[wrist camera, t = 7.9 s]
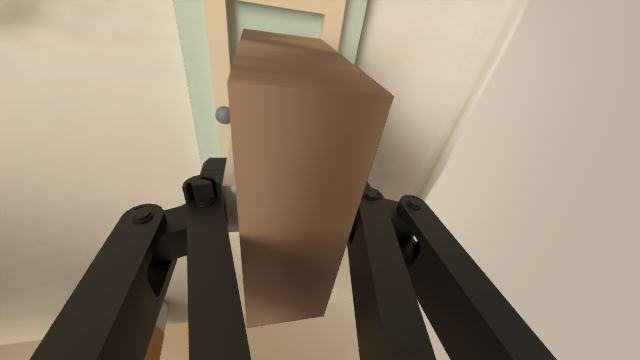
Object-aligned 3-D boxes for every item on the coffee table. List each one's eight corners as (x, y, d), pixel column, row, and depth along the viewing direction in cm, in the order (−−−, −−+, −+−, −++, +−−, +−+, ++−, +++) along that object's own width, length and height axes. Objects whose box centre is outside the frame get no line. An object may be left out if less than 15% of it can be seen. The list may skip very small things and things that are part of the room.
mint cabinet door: (213, 210, 26) (209, 230, 24) (156, -137, 12) (135, -165, 10) (320, 205, 29) (326, 223, 27) (374, -78, 15) (395, -89, 13)
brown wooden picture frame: (250, 205, 19) (247, 328, 12) (243, 28, 12) (227, 82, 5) (301, 203, 20) (324, 316, 13) (322, 39, 13) (396, 96, 6)
